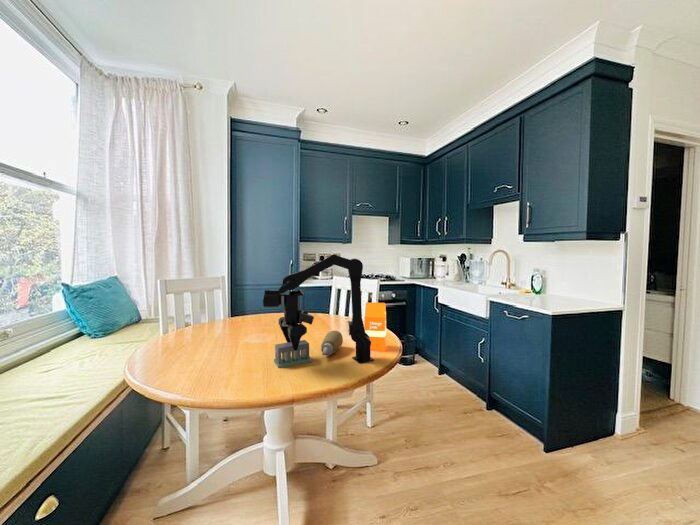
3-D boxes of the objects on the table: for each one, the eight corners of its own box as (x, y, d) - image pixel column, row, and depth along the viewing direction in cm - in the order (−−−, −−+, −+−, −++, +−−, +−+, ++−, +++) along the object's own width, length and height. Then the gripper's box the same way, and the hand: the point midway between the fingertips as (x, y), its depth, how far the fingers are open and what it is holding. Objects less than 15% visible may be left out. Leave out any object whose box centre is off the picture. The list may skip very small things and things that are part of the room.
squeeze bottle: (346, 344, 133) (335, 362, 116) (329, 346, 135) (316, 364, 118) (342, 326, 133) (331, 342, 115) (325, 329, 134) (312, 345, 117)
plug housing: (305, 354, 121) (304, 339, 120) (309, 358, 116) (309, 343, 116) (275, 359, 115) (275, 344, 115) (278, 364, 111) (278, 348, 111)
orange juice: (384, 351, 127) (384, 304, 126) (364, 350, 129) (364, 303, 128) (386, 345, 135) (386, 301, 134) (367, 344, 136) (366, 300, 135)
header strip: (306, 356, 122) (305, 345, 122) (311, 361, 116) (311, 350, 115) (274, 361, 116) (273, 350, 116) (278, 367, 110) (278, 355, 110)
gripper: (319, 309, 110) (320, 350, 111) (304, 301, 127) (304, 337, 128) (290, 312, 105) (291, 355, 106) (277, 303, 122) (278, 341, 123)
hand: (292, 347), depth 116 cm, fingers open, 9 cm apart
